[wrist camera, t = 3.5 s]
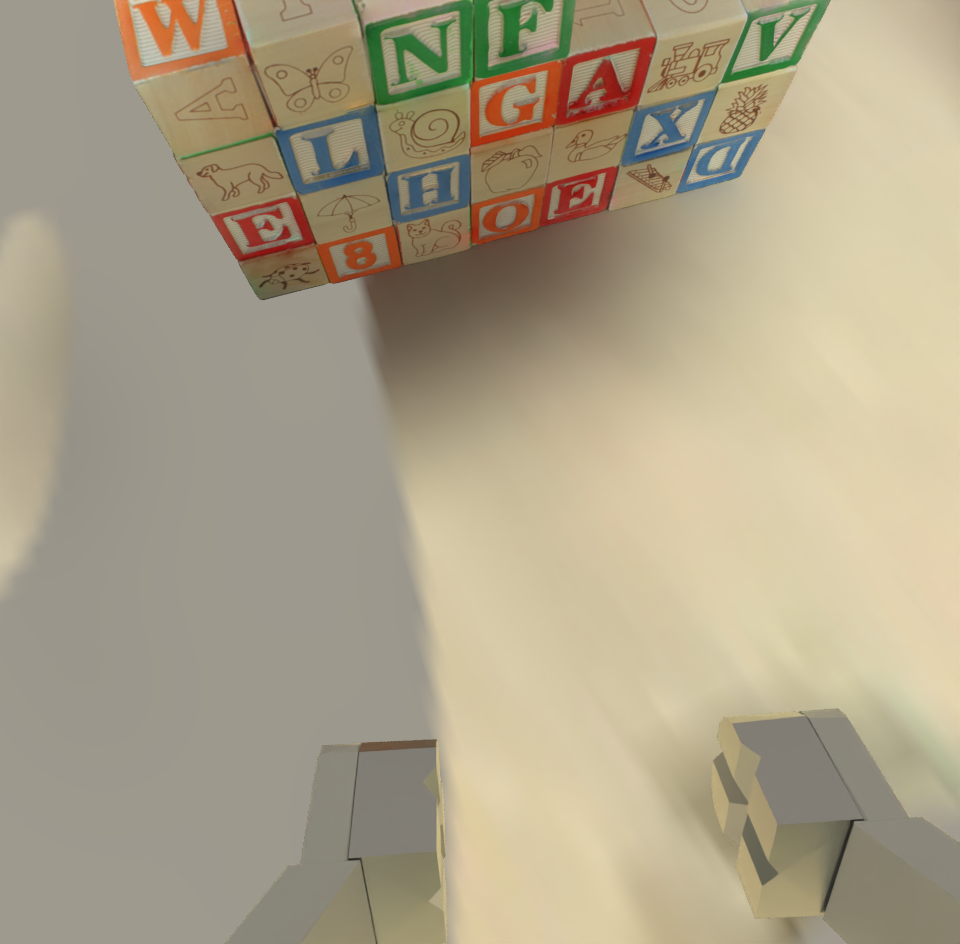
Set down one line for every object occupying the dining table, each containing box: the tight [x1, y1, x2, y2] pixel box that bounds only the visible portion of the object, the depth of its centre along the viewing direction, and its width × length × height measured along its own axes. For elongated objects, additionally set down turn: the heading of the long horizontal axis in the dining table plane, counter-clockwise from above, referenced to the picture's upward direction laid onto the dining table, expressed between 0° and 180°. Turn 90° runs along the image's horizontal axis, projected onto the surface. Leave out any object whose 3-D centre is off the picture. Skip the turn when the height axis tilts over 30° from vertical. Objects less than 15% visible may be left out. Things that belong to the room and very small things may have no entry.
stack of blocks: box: [114, 0, 830, 300], centre depth 27 cm, size 21×6×12 cm, turn 106°
